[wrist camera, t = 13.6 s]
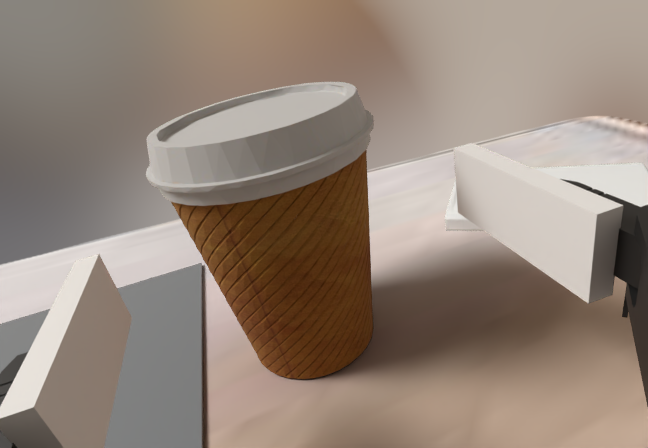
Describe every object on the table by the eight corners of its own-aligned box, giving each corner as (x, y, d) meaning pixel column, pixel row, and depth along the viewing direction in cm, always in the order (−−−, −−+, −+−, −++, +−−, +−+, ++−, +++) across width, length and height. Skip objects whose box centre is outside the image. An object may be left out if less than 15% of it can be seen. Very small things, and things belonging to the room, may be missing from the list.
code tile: (-202, 601, 16) (-207, 597, 16) (-12, 330, 30) (-14, 328, 30) (203, 452, 18) (201, 449, 18) (202, 265, 32) (201, 262, 32)
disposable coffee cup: (313, 265, 29) (267, 82, 24) (441, 310, 23) (416, 74, 17) (192, 354, 23) (95, 143, 18) (315, 450, 17) (221, 164, 12)
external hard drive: (670, 241, 25) (445, 236, 30) (638, 181, 31) (458, 185, 36) (675, 215, 24) (444, 215, 29) (642, 159, 30) (457, 167, 35)
